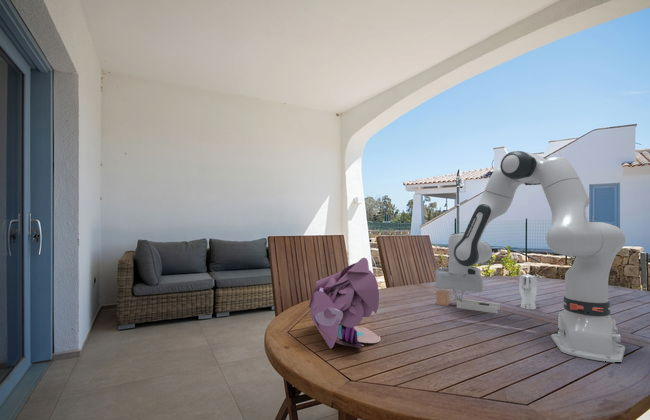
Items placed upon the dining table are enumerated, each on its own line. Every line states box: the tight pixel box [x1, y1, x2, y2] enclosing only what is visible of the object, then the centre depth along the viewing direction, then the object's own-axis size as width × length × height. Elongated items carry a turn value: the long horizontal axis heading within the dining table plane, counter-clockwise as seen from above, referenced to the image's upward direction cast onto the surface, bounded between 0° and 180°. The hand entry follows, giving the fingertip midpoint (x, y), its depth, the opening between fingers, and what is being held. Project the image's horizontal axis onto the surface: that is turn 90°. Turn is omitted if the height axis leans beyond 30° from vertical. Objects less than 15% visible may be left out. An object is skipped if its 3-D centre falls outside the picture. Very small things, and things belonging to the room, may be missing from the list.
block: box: [435, 288, 452, 307], centre depth 158 cm, size 5×5×6 cm
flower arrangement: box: [308, 257, 382, 350], centre depth 115 cm, size 35×24×28 cm
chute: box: [456, 298, 501, 314], centre depth 150 cm, size 8×16×4 cm, turn 57°
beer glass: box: [518, 274, 538, 310], centre depth 152 cm, size 7×7×15 cm
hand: (459, 300), depth 154 cm, fingers closed
